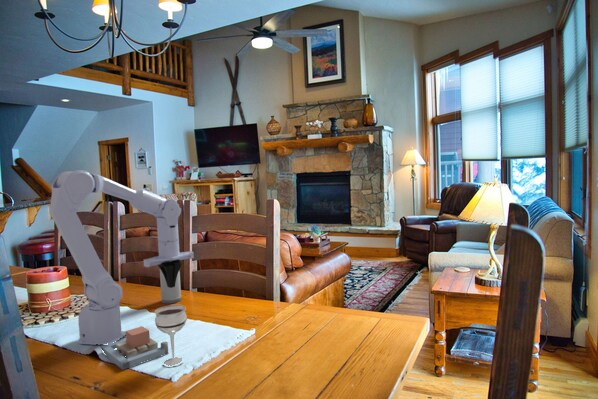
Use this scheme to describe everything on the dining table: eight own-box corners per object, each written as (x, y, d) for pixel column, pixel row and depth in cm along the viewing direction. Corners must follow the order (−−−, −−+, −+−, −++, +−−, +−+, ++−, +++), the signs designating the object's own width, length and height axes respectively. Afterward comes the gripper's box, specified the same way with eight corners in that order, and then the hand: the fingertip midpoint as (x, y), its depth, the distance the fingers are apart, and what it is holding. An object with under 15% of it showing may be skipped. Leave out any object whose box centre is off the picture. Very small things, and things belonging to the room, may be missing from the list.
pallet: (128, 362, 92) (127, 352, 91) (116, 353, 97) (116, 344, 96) (158, 352, 97) (157, 342, 96) (145, 344, 102) (144, 334, 101)
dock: (123, 370, 88) (122, 359, 88) (101, 352, 97) (100, 342, 97) (169, 353, 95) (169, 343, 95) (145, 338, 105) (145, 329, 104)
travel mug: (157, 303, 133) (153, 243, 132) (169, 297, 139) (165, 239, 138) (173, 304, 131) (169, 243, 130) (184, 298, 137) (181, 240, 136)
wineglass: (177, 352, 95) (174, 303, 95) (195, 360, 91) (192, 308, 90) (151, 364, 90) (148, 311, 89) (168, 372, 86) (165, 317, 85)
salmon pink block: (133, 348, 94) (132, 335, 94) (126, 343, 97) (125, 331, 96) (149, 342, 97) (149, 330, 96) (142, 338, 99) (142, 326, 99)
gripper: (150, 245, 109) (153, 295, 110) (197, 238, 119) (200, 283, 120) (139, 243, 114) (142, 290, 115) (185, 236, 124) (188, 279, 125)
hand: (171, 286), depth 118 cm, fingers closed
